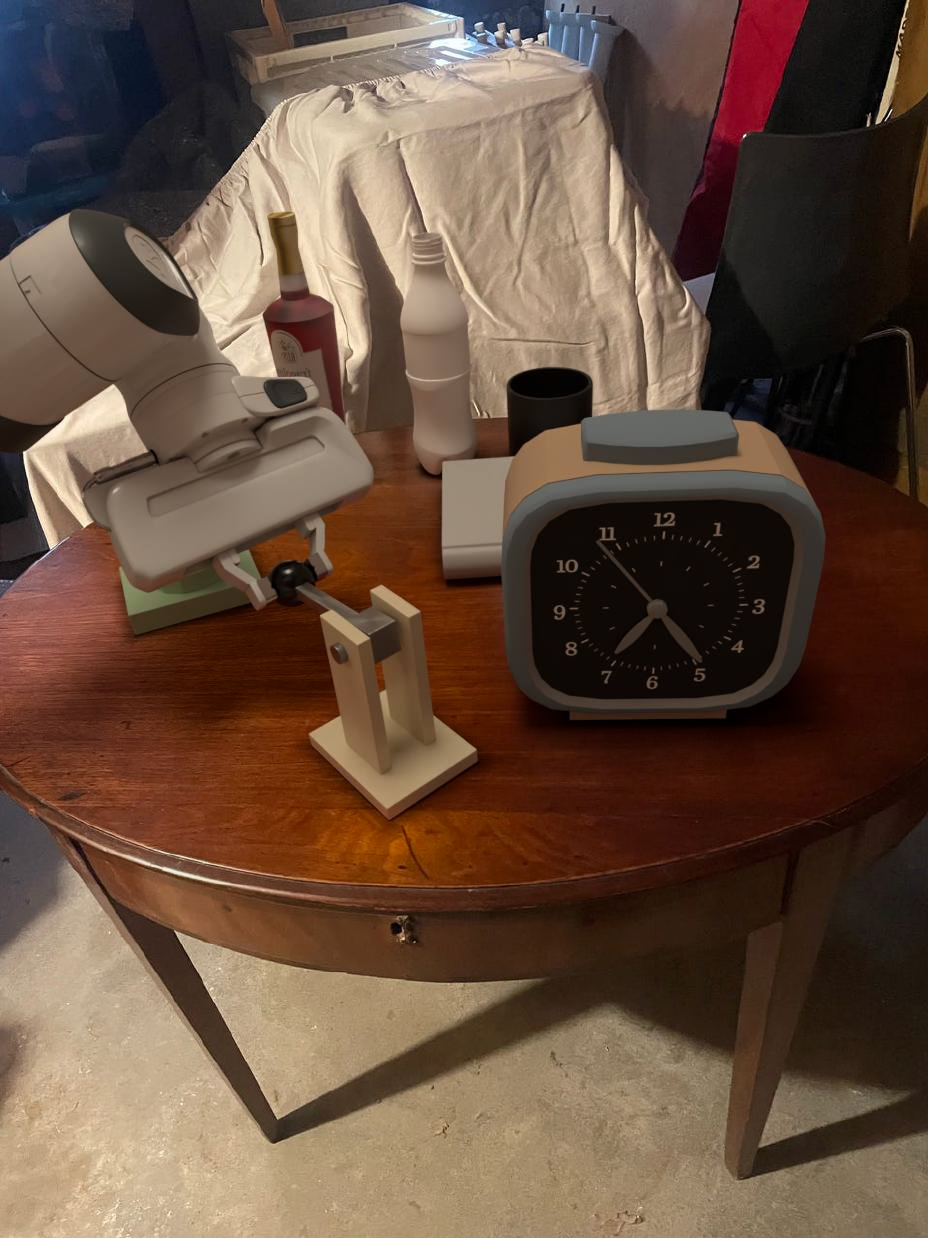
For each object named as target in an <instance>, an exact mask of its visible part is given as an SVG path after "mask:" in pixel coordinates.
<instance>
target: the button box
mask: <svg viewBox="0 0 928 1238" xmlns="http://www.w3.org/2000/svg"><path fill="white" fill-rule="evenodd" d="M238 556H239V557H240V559H241V561H240V563H239V565H238V568H240V569H241V570H243V571H244V572H246V573H247V574H249V575H250V576H252V577H253V578H255V579H256V580H257V581H258V580H260V579H262V576H261V574H260V572H259V570H258V568H257V565H256V563H255V560H254V558H253V556H252V553H251V551H250V549H248V550H246V551H244V552H241V553H239V554H238ZM118 570H119V575H120V580H121V585H122V591H123V596H124V601H125V606H126V611H127V615H128V616H127V617H128V619H129V622H130V625H131V627H132V630H133V632H134V635H135V636H138V635H141V634H145V633H149V632H151V631H155V630H159V629H162V628H166V627H169V626H173V625H177V624H181V623H183V622H186V621H191V620H194V619H198V618H202V617H205V616H208V615H212V614H215V613H219V612H223V611H226V610H230V609H233V608H236V607H240V606H244V605H247V604H250V603H251V601H250V599H249V598H248V596H247V594H246V592H245V591H244V592H243V591H241V590H239V589H238V588H236V587H234V586H233V585H231V584H229V583H228V582H226V581H224V580H222V579H221V578H220V577H219V575H218V574H217V572H216V570H215V568H214V567H213V565H212V566H210V567H207V568H205V569H203V570H201V571H198V572H196V573H194V574H191V575H189V576H187V577H185V578H182V579H180V580H178V581H175V582H173V583H171V584H169V585H166V586H164V587H162V588H160V589H157V590H155V591H153V592H150V593H146V592H144V591H141V590H139V589H137V588H134V587H133V586H132V585H131V584H130V583H129V581H128V579H127V577H126V575H125V573H124V571H123V569H122V567H121V565H120V566H119V567H118ZM251 604H252V603H251Z"/></svg>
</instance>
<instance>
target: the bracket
mask: <svg viewBox="0 0 928 1238" xmlns="http://www.w3.org/2000/svg"><path fill="white" fill-rule="evenodd" d="M369 593H370V600H371V607H374V608H375V609H377V610H379V611H380V612H382V613H384V614H386V615H387V616H389V617H391V618H392V619H394V620H395V621H396V625H397V630H398V635H399V640H400V644H401V651H399V652H397V653H395V654H394V655H392V656H390V657H388V658H386V659H385V660H383V661H381V662H380V663H381V668H382V669H381V670H382V674H383V680H384V686H385V687H384V688H385V689H383V690H382V691H380V689H379V683H378V676H377V671H376V664H374V658H373V652H372V646H371V640H370V638H369V637H368V636H367V635H365V634H364V633H363V632H361V631H360V630H359V629H357V628H356V627H355V626H353V625H352V624H351V623H349V622H348V621H347V620H346V619H344V618H343V617H342V616H340V615H339V614H338V613H336V612H335V611H334V610H330V611H328V612H326V613H324V614H320V615H319V619H320V624H321V628H322V633H323V638H324V644H325V648H326V652H327V657H328V662H329V666H330V672H331V676H332V681H333V686H334V692H335V695H336V696H335V697H336V700H337V706H338V709H339V716H337V717H335V718H333V719H332V720H329V722H326V723H325V724H323V725H322V726H321V725H320V726H319V727H318V728H316V729H314V730H312V731H311V732H309V733H308V738H309V741H310V745H311V746H312V748H314V749H315V750H316V751H317V752H318V753H319V754H320V755H321V756H322V757H323V758H324V759H325V760H326V761H327V762H329V764H330V765H331V766H332V767H333V768H335V770H337V771H338V772H339V774H341V776H343V778H345V779H346V780H347V781H348V782H349V784H351V785H352V786H353V787H354V788H355V789H356V790H357V791H358V793H360V794H361V795H362V796H363V797H364V798H365V799H366V800H367V801H368V802H370V804H372V805H373V806H374V808H376V809H377V810H378V811H379V812H380V813H381V814H382V815H383V817H385V818H386V819H387V820H388V821H390V820H392V819H393V818H395V817H396V816H398V815H399V814H401V813H402V812H404V811H405V810H407V809H409V808H410V807H412V806H413V805H415V804H416V803H417V802H418V801H420V800H422V799H424V798H425V797H426V796H428V795H429V794H431V793H433V792H434V791H435V790H437V789H438V788H440V787H442V786H443V785H444V784H446V783H447V782H449V781H450V780H452V779H454V778H455V777H456V776H458V775H459V774H461V773H462V772H464V771H466V769H469V768H470V767H471V766H473V765H474V764H476V763H477V762H479V759H478V750H477V748H476V747H474V746H473V745H472V744H470V743H469V742H468V741H466V739H464V738H463V737H461V735H459V734H457V732H455V731H454V730H453V729H452V728H450V727H449V726H447V724H445V723H444V721H443V722H442V721H441V720H440V719H439V718H437V717H436V716H435V715H434V711H433V710H434V709H433V701H432V694H431V693H432V692H431V684H430V678H429V676H430V675H429V670H428V669H429V668H428V661H427V654H426V653H427V652H426V645H425V636H424V627H423V620H422V619H423V618H422V611H421V610H420V609H418V608H416V607H415V606H414V605H412V604H410V602H408V601H406V600H405V599H403V598H402V597H400V596H399V595H398V594H396V593H394V592H393V591H391V589H389V588H387V587H386V586H384V584H380V585H378V586H376V587H374V588H372V589H370V590H369Z"/></svg>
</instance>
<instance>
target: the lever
mask: <svg viewBox="0 0 928 1238" xmlns="http://www.w3.org/2000/svg"><path fill="white" fill-rule="evenodd" d="M267 577H268V579H269V580H270V582H271V588H273V589H275V591H276V593H277V596H278V599H277V600H276V601H275V602H274V603H277V605H279V606H281V607H285V608H291V609H293V608H299V607H303V605H306V606H308V607H310V608H311V609H312V610H314V611H316V612H317V613H319V614H320V615H322V614H324V613H326V612H328V611H330V610H334V611H335V612H336V613H338V614H339V615H340V616H342V617H343V618H344V619H346V620H347V621H348V622H349V623H351V624H352V625H353V626H355V627H356V628H357V629H359V630H360V631H361V632H363V633H364V634H365V635H367V636H368V637H369V638H370V640H371V646H372V652H373V658H374V664H375V665H377V664H379V663H382V662H381V661H383V660H385V659H386V658H388V657H390V656H392V655H394V654H395V653H397V652H399V651H401V644H400V640H399V635H398V630H397V625H396V621H395V620H394V619H392V618H391V617H389V616H387V615H386V614H384V613H382V612H380V611H379V610H377V609H375V608H374V607H372V606H370V607H368V608H366V609H364V610H361V611H360V612H358V611H356V610H354V609H353V608H351V607H349V606H347V605H345V604H344V603H342V602H341V601H339V600H337V599H336V598H334V597H333V596H331V595H330V594H328V593H326V592H325V591H323V590H321V589H319V588H318V587H317V582H316V580H315V576H314V574H313V572H312V570H311V569H310V568H309V567H308V566H307V565H306V564H305V563H304V561H301V560H297V559H285V560H282V561H280V562H278V563H277V564H275V565H274V566H273V567H272V568H271V570H270V571H269V573H268V575H267Z"/></svg>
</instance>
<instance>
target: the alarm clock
mask: <svg viewBox="0 0 928 1238" xmlns="http://www.w3.org/2000/svg"><path fill="white" fill-rule="evenodd" d="M826 537H827V536H826V532H825V527H824V522H823V518H822V513H821V511H820V509H819V508H818V506H817V504H816V502H815V500H814V498H813V496H812V495H811V492H810V490H809V489H808V487H807V484H806V483H805V481H804V479H803V477H802V475H801V474H800V472H799V470H798V468H797V466H796V464H795V463H794V461H793V459H792V456H791V455H790V453H789V450H788V449H787V448H786V447H785V445H784V444H783V442H782V441H781V439H780V438H779V436H778V435H777V434H776V433H774V432H773V431H771V430H770V429H768V428H766V427H764V426H763V425H761V424H760V423H758V422H756V421H751V420H749V421H748V420H741V419H740V420H739V419H733V418H732V416H731V415H730V414H729V412H727V411H716V410H706V409H705V410H704V409H649V410H648V409H647V410H645V409H644V410H633V411H632V410H631V411H624V412H623V411H622V412H614V413H606V414H600V415H595V416H592V417H588V418H584V419H583V420H582V421H581V424H577V425H572V426H566V427H561V428H556V429H551V430H545V431H544V432H542V433H541V434H539V435H538V436H536V437H535V438H533V439H532V440H530V441H529V442H527V443H525V444H524V445H523V446H522V448H521V449H520V450H519V452H518V453H517V454H516V456H515V457H514V458H513V460H512V462H511V465H510V468H509V471H508V474H507V477H506V480H505V492H504V512H503V535H502V558H501V574H502V576H501V590H502V605H503V606H502V609H503V611H502V612H503V629H504V645H505V646H504V647H505V655H506V662H507V666H508V670H509V671H510V674H511V676H512V678H513V680H514V682H515V684H516V686H517V689H519V690H520V691H521V692H522V693H523V694H524V695H526V697H527V698H528V699H529V700H531V701H533V702H535V703H538V704H540V705H541V706H544V707H546V708H548V709H550V710H555V711H565V712H569V721H585V720H586V721H591V720H592V721H593V720H595V721H599V720H678V719H679V720H680V719H681V720H682V719H683V720H687V719H688V720H691V719H695V720H696V719H697V720H698V719H727V711H729V710H734V709H735V710H736V709H741V708H742V709H743V708H749V707H752V706H755V705H756V704H759V703H761V702H763V701H765V700H767V699H770V698H773V697H774V696H775V695H776V694H777V693H779V692H780V691H781V690H782V689H783V688H784V687H786V686H787V685H788V684H789V683H790V681H791V679H792V678H793V677H794V676H795V674H796V672H797V670H798V669H799V667H800V665H801V662H802V660H803V656H804V653H805V651H806V647H807V643H808V637H809V633H810V628H811V623H812V618H813V613H814V610H815V603H816V599H817V594H818V590H819V586H820V580H821V576H822V571H823V565H824V561H825V551H826V549H825V548H826V539H827V538H826Z"/></svg>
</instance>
